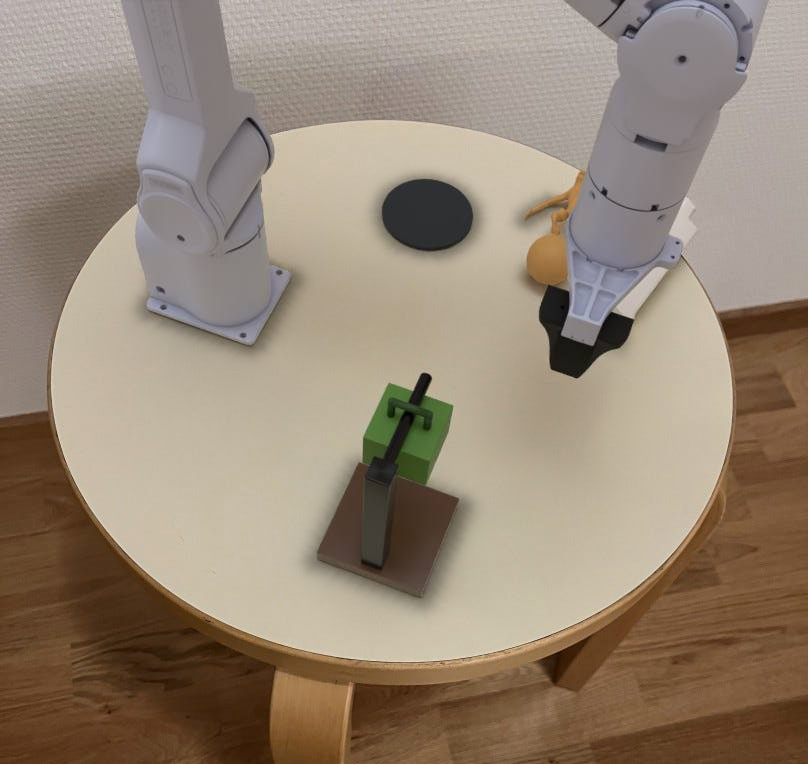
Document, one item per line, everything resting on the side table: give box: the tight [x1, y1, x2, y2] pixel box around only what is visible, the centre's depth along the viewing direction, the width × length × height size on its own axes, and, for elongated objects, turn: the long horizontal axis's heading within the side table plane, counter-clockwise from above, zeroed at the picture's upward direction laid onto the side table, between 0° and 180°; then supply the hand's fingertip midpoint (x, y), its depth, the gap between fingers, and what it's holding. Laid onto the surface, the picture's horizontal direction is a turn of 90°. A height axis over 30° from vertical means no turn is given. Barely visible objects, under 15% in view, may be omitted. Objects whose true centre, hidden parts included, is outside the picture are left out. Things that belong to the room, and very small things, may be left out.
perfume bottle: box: [611, 196, 699, 320], centre depth 76 cm, size 5×4×15 cm
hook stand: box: [316, 372, 460, 598], centre depth 60 cm, size 8×9×14 cm
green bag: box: [361, 382, 454, 487], centre depth 56 cm, size 4×4×5 cm
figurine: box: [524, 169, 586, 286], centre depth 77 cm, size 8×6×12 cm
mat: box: [381, 178, 474, 252], centre depth 79 cm, size 8×8×1 cm
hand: (581, 328), depth 62 cm, fingers open, 7 cm apart
